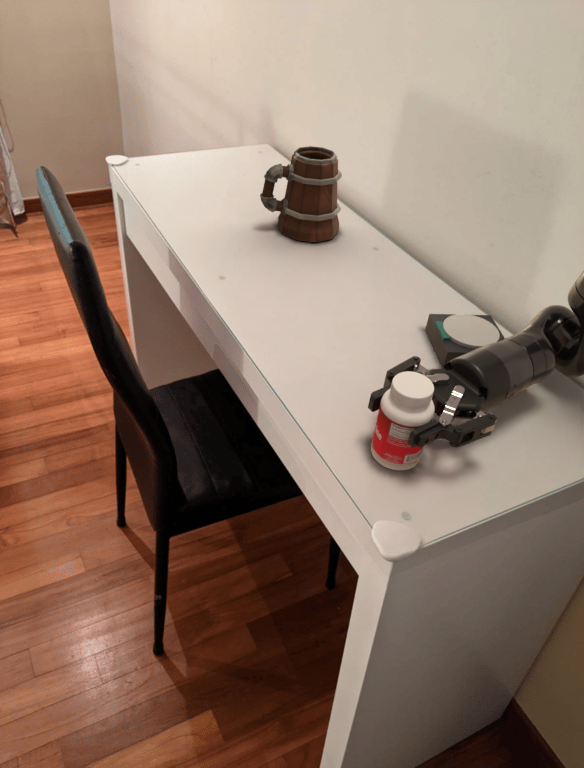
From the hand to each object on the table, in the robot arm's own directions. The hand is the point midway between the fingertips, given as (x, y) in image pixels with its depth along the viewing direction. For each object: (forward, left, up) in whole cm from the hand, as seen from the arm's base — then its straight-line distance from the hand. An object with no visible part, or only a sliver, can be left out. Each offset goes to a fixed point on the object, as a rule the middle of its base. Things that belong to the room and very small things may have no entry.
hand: (390, 421), depth 69 cm
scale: (-18, -23, -7) cm, 30 cm away
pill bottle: (-2, -1, -7) cm, 7 cm away
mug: (+4, -62, -7) cm, 63 cm away
